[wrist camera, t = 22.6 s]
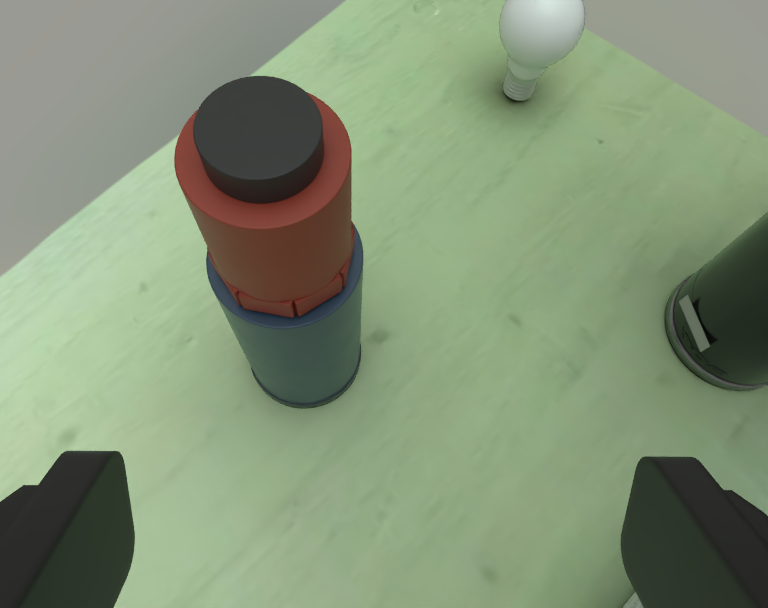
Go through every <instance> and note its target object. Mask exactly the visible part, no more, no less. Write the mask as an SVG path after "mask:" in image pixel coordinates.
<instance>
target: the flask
mask: <svg viewBox="0 0 768 608" xmlns="http://www.w3.org/2000/svg"><path fill="white" fill-rule="evenodd" d="M354 229H355V245H354V250H353V254H352V259H351V263H350V268H349V272H348V277H347V281H346V286H345V287H343V286H342V291H341V292H340V293H338V294H336V295H335V296H333V297H331V298H330V299H328V300H326V301H325V302H323V303H321V304H320V305H318V306H316V307H315V308H313V309H312V310H310V311H308V312H307V313H305V314H303V315H302V316H300V317H299V316H298V315H297V313H296V312H295V316H294V318H291V317H286V316H280V315H275V314H269V313H264V312H259V311H253V310H248V309H244V308H243V306H242V305H240V306H239V305H238V304H237V302H236V301H235V299H234V298H233V296H232V295H231V293H230V292H229V290H228V289H227V287H226V286H225V284H224V282H223V281H222V279H221V278H220V276H219V275H218V273H217V272H216V270H215V269H214V267H213V265H212V263H211V260H210V258H209V256H208V253H209V252H208V250H207V258H206V266H207V274H208V279H209V282H210V284H211V287H212V289H213V291H214V293H215V295H216V297H217V299H218V301H219V303H220V305H221V307H222V309H223V311H224V313H225V315H226V317H227V319H228V321H229V323H230V325H231V327H232V329H233V331H234V333H235V335H236V337H237V339H238V341H239V343H240V345H241V347H242V349H243V351H244V353H245V355H246V357H247V359H248V361H249V363H250V365H251V369H252V372H253V375H254V377H255V379H256V380H257V382H258V384H259V385H260V387H261V388H262V389H263V391H264V392H265V393H266V394H267V395H269V396H270V397H271V398H273V399H274V400H276V401H277V402H279V403H281V404H284V405H286V406H290V407H295V408H313V407H318V406H322V405H325V404H327V403H329V402H331V401H333V400H335V399H336V398H338V397H339V396H340V395H342V394H343V393H344V392H345V391H346V390H347V389H348V388H349V386H350V385H351V384H352V382H353V381H354V379H355V377H356V375H357V372H358V369H359V366H360V360H361V344H360V330H361V304H362V279H363V248H362V242H361V239H360V236H359V233H358V231H357V229H356V227H355V225H354Z"/></svg>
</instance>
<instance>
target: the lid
mask: <svg viewBox="0 0 768 608" xmlns="http://www.w3.org/2000/svg"><path fill="white" fill-rule="evenodd" d="M174 159H175V171H176V176H177V179H178V181H179V184H180V187H181V189H182V191H183V193H184V195H185V198H186V200H187V202H188V204H189V207H190V209H191V211H192V213H193V215H194V218H195V220H196V222H197V224H198V227H199V229H200V231H201V233H202V236H203V238H204V240H205V242H206V244H207V250H208V252H209V253H208V256H209V258H210V260H211V263H212V265H213V267H214V269H215V270H216V272H217V273H218V275H219V276H220V278H221V279H222V281H223V282H224V284H225V286H226V287H227V289H228V290H229V292H230V293H231V295H232V296H233V298H234V299H235V301H236V302H237V304H238V305H239V306H240V305H242V306H243V308H244V309H248V310H253V311H259V312H264V313H269V314H275V315H280V316H286V317H291V318H294V316H295V312H296V313H297V315H298V316H299V317H300V316H302V315H303V314H305V313H307V312H308V311H310V310H312V309H313V308H315V307H316V306H318V305H320V304H321V303H323V302H325V301H326V300H328V299H330V298H331V297H333V296H335V295H336V294H338V293H340V292H341V291H342V286H343V287H345V286H346V281H347V277H348V272H349V268H350V263H351V259H352V254H353V250H354V245H355V229H354V224H353V222H352V221H351V144H350V139H349V136H348V133H347V131H346V129H345V127H344V125H343V123H342V121H341V120H340V118H339V117H338V116H337V114H336V113H335V112H334V111H333V110H332V109H331V108H330V107H329V106H328V105H327V104H325V103H324V102H323V101H321V100H320V99H318V98H317V97H315V96H313V95H311V94H309V93H307V92H305V91H304V90H303V89H301V88H300V87H298V86H297V85H295V84H293V83H291V82H289V81H286V80H283V79H280V78H275V77H268V76H252V77H245V78H240V79H237V80H234V81H231V82H229V83H226V84H224V85H223V86H221V87H219V88H218V89H216V90H215V91H213V92H212V93H211V94H210V95H209V96H208V97H207V98H206V99H205V100H204V101H203V103H202V104H201V106H200V107H199V109H198V110H197V111H196V112H195V113H194V114H193V115H192V116H191V117H190V119H189V120H188V121H187V123H186V124H185V126H184V128H183V129H182V131H181V133H180V136H179V138H178V141H177V145H176V149H175V157H174Z"/></svg>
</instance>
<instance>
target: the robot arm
mask: <svg viewBox="0 0 768 608" xmlns="http://www.w3.org/2000/svg"><path fill="white" fill-rule="evenodd" d="M665 323H666V330H667V334H668V337H669V340H670V342H671V344H672V346H673V348H674V350H675V352H676V353H677V355H678V356H679V358H680V359H681V360H682V361H683V363H684V364H685V365H686V366H687V367H688V368H689V369H690V370H692V371H693V372H694V373H695V374H697V375H698V376H699V377H701V378H702V379H704V380H706V381H708V382H709V383H711V384H714V385H716V386H719V387H722V388H726V389H730V390H738V391H746V390H754V389H758V388H761V387H764V386H766V385H768V212H767V213H766V214H764V215H763V216H762V217H761V218H760V219H759V220H757V221H756V222H755V223H754V224H753V225H752V226H750V227H749V228H748V229H747V230H746V231H744V232H743V233H742V234H741V235H740V236H739V237H737V238H736V239H735V240H734V241H733V242H732V243H730V244H729V245H728V246H727V247H726V248H725V249H723V250H722V251H721V252H720V253H719V254H717V255H716V256H715V257H714V258H713V259H712V260H710V261H709V262H708V263H707V264H705V265H704V266H703V267H702V268H701V269H699V270H698V271H697V272H696V273H694V274H693V275H691V276H689V277H688V278H687V279H686V280H684V281H683V282H682V283H681V284H680V285H679V286H678V287H677V288H676V289H675V290H674V292H673V293H672V295H671V296H670V298H669V301H668V304H667V307H666V313H665ZM134 542H135V533H134V525H133V518H132V511H131V504H130V498H129V491H128V484H127V477H126V471H125V464H124V460H123V457H122V455H121V454H120V452H118V451H66V452H64V453H62V454H61V455H60V456H59V458H58V459H57V460H56V462H55V463H54V464H53V466H52V467H51V468H50V470H49V471H48V473H47V474H46V475H45V477H44V478H43V479H42V481H41V482H40V483H39V485H23V486H22V487H21V488H19V489H18V490H16V491H15V492H13V493H12V494H11V495H9V496H8V497H6V498H5V499H4V500H2V501H1V502H0V608H113V607H114V605H115V603H116V601H117V598H118V596H119V594H120V592H121V589H122V587H123V585H124V583H125V580H126V578H127V576H128V573H129V570H130V567H131V563H132V558H133V552H134ZM621 553H622V559H623V564H624V568H625V571H626V573H627V576H628V578H629V580H630V582H631V584H632V586H633V588H634V590H635V592H636V594H637V596H638V598H639V600H640V602H641V604H642V606H643V608H768V516H767V515H766V514H765V513H764V512H762V511H761V510H759V509H758V508H756V507H755V506H754V505H752V504H751V503H749V502H748V501H746V500H745V499H744V498H742V497H741V496H739V495H738V494H736V493H735V492H733V491H732V490H723V489H722V488H721V487H720V485H719V484H718V483H717V482H716V481H715V479H714V478H713V477H712V476H711V474H710V473H709V472H708V471H707V470H706V468H705V467H704V466H703V465H702V463H701V462H700V461H699V460H697V459H696V458H694V457H643V458H641V459H640V461H639V462H638V464H637V467H636V471H635V475H634V480H633V484H632V488H631V493H630V497H629V502H628V506H627V511H626V515H625V520H624V524H623V528H622V534H621Z"/></svg>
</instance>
